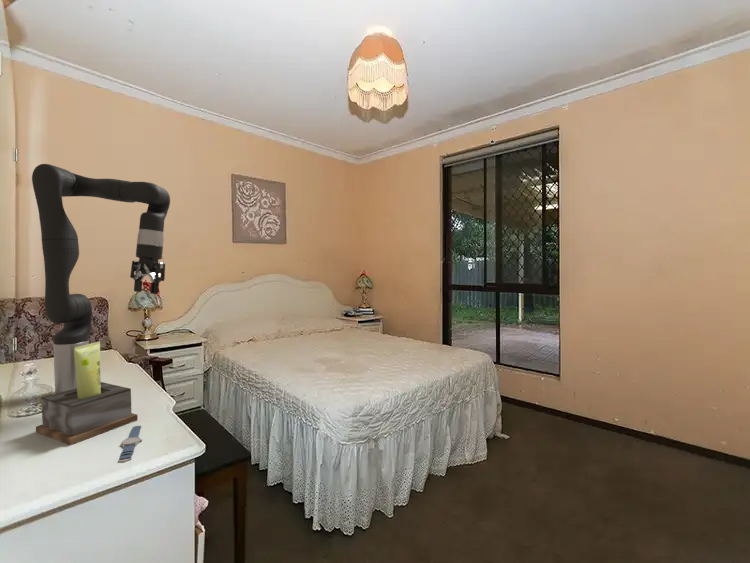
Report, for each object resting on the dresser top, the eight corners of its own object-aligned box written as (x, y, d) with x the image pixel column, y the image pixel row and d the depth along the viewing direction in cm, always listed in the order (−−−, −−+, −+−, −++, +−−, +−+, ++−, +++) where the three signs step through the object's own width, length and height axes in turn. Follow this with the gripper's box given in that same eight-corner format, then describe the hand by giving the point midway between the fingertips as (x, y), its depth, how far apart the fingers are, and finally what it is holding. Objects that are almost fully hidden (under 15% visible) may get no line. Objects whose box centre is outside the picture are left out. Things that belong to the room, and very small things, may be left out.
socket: (35, 432, 96) (34, 397, 95) (103, 410, 110) (102, 380, 110) (70, 445, 89) (69, 408, 89) (137, 419, 104) (136, 388, 103)
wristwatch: (113, 465, 80) (113, 461, 80) (128, 429, 98) (128, 425, 98) (136, 461, 82) (136, 456, 82) (147, 426, 100) (146, 422, 100)
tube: (100, 417, 99) (98, 345, 98) (76, 422, 96) (73, 347, 95) (102, 410, 104) (100, 341, 103) (79, 414, 101) (76, 343, 100)
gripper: (125, 242, 124) (121, 290, 124) (153, 243, 118) (148, 294, 118) (147, 245, 131) (143, 291, 131) (174, 246, 125) (170, 294, 124)
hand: (145, 292), depth 124 cm, fingers open, 8 cm apart
